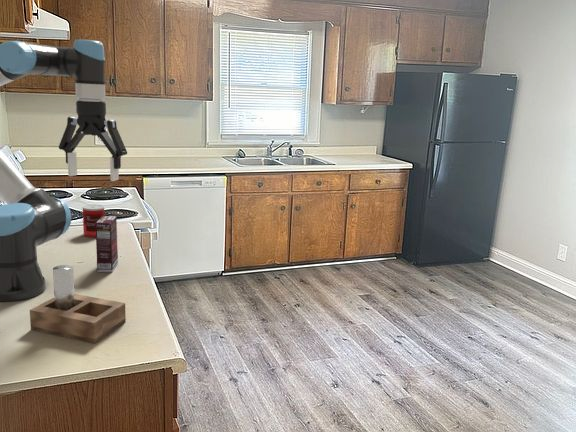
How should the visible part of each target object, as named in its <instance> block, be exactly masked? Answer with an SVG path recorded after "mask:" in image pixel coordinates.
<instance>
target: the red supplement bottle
mask: <svg viewBox="0 0 576 432" xmlns="http://www.w3.org/2000/svg"><path fill="white" fill-rule="evenodd" d="M102 216H106V214H105V206H104V205H102V204H97V203H96V204H93V203H92V204H86V205H83V206H82V225H83V229H82V230H83V235H84V236H85V237H87V238H96V225H95V223H96V222H97V221H98V220H99V219H100V218H101V217H102Z"/></svg>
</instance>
